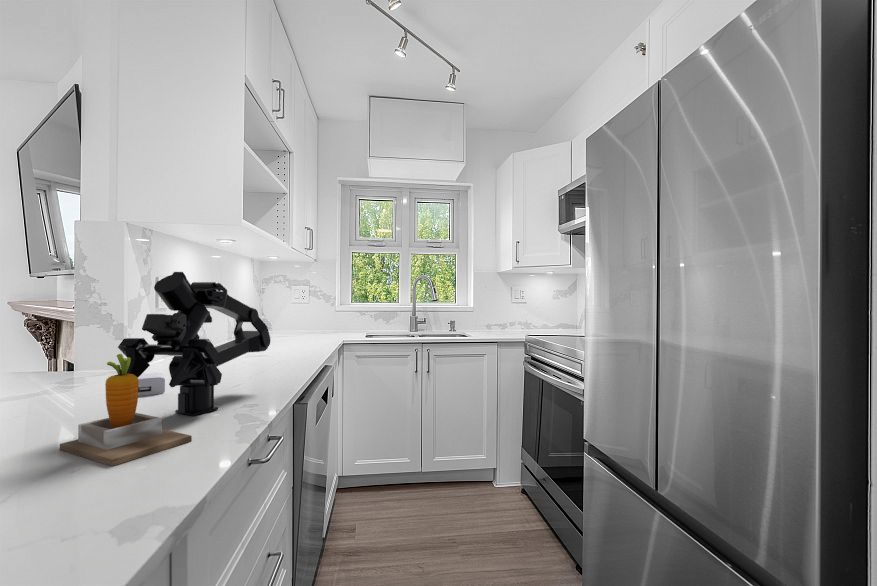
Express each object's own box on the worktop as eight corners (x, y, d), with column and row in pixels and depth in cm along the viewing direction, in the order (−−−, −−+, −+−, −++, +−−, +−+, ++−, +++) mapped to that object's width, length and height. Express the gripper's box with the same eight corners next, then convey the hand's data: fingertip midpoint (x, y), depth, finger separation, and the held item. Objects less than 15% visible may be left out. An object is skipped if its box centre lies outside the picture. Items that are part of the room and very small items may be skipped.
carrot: (134, 440, 76) (135, 355, 76) (100, 443, 74) (100, 357, 74) (141, 432, 81) (142, 352, 81) (109, 435, 79) (110, 353, 79)
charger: (162, 384, 130) (164, 394, 117) (125, 388, 124) (122, 398, 112) (163, 368, 130) (165, 376, 117) (125, 371, 125) (123, 380, 112)
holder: (139, 428, 86) (140, 408, 86) (191, 441, 79) (191, 419, 79) (59, 449, 74) (60, 426, 74) (112, 466, 67) (112, 440, 67)
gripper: (125, 299, 90) (77, 360, 79) (211, 299, 89) (174, 361, 78) (152, 333, 98) (112, 393, 87) (231, 334, 96) (201, 395, 85)
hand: (148, 385), depth 84 cm, fingers open, 9 cm apart
